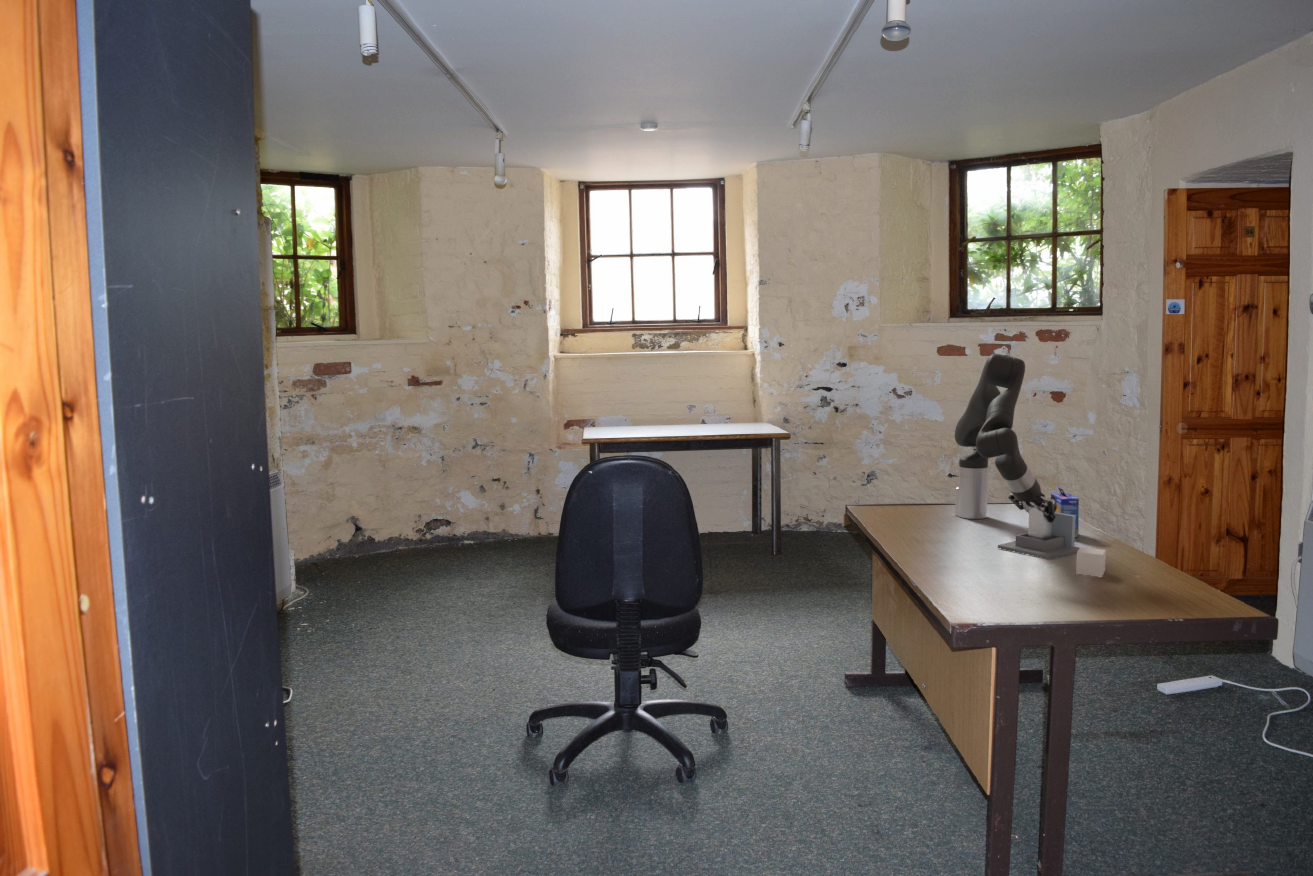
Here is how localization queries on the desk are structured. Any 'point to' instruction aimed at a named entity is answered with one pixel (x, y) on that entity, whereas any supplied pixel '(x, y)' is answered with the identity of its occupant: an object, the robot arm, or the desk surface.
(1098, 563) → the white cube
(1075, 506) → the ink cartridge box
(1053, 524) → the dock
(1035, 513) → the tall gray block
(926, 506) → the desk surface
